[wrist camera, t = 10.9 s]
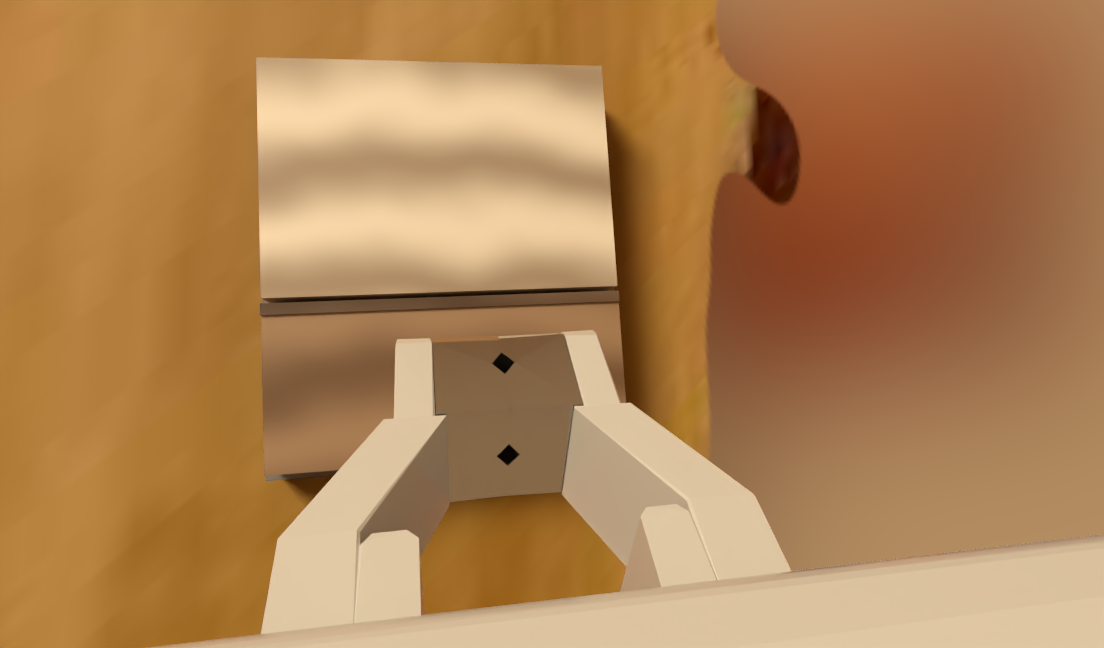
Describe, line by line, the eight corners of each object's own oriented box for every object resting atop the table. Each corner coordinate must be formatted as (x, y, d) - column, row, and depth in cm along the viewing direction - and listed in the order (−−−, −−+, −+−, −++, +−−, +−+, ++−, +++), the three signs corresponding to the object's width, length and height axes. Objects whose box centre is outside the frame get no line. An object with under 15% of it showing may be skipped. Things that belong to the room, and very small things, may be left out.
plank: (606, 292, 40) (617, 285, 38) (272, 304, 37) (260, 298, 35) (591, 85, 42) (601, 65, 39) (267, 78, 38) (256, 57, 36)
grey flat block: (612, 448, 42) (639, 455, 37) (278, 475, 39) (252, 487, 33) (588, 99, 45) (609, 56, 39) (271, 94, 41) (245, 46, 36)
